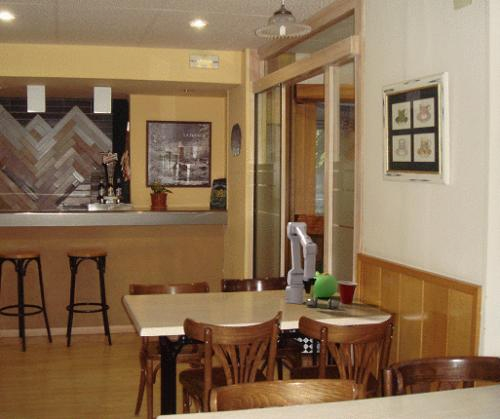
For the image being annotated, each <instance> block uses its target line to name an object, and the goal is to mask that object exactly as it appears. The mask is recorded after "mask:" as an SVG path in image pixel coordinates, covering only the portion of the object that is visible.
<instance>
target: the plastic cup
mask: <svg viewBox="0 0 500 419" xmlns="http://www.w3.org/2000/svg"><path fill="white" fill-rule="evenodd" d="M337 283H338V290H339V297H340V303H341V304H342V305H352V304H353V300H354V297H355V291H356V287H357V286H358V283H357V282H354V281H348V280H338V281H337ZM351 303H352V304H351Z"/></svg>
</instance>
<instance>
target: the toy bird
mask: <svg viewBox="0 0 500 419" xmlns="http://www.w3.org/2000/svg"><path fill="white" fill-rule="evenodd" d="M315 276H317V277H314V278H316V279H317V280H316V282H315V284H314V288H313V297H314V296H315V298H320V299H326V298H330V297H332V296H334V295H335V294H336V293H337V292H338V290H339V284H338V281H337V279H336V277H335V276H333V275H332V274H330V273H329V272H322V273H320V272H319V271H316V270H315Z"/></svg>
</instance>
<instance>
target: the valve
mask: <svg viewBox="0 0 500 419" xmlns="http://www.w3.org/2000/svg"><path fill="white" fill-rule="evenodd" d="M313 287H314V285H312V286H311V291H310V294H306V293H305V292H304V297H305V298H313V297H314V295H313Z"/></svg>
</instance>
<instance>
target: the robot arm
mask: <svg viewBox="0 0 500 419" xmlns="http://www.w3.org/2000/svg"><path fill="white" fill-rule="evenodd" d="M307 226H308V225H307V223H306V222H304V221H303V222H299V221H298V222H297V221H295V222H290V221H289V222H288V223H287V226H286V233H287V234H286V235H287V238H288V239H289V240H290V250H291V252H290V253H291V269H290V270H288V273H287V278H286V279H287V286H286V287H285V301H284V302H285V303H286V304H297V305H298V304H300V305H302V304H304V303H306V300H304V294H305V293H306V294H310V291H311V286H312V285H314V284H315V282H316V280H317V279H316V278H314V277H317V276H315V275H316V261H317V258H316V256H317V255H318V251H319V250H318V245H317V243H314V242H313V240H312V238H311V236H309V235H308V234H307V230H308V228H307ZM300 244H301V245H300ZM300 246H302V248H303V249H302V251H303V258H304V264H303V266H304V268H302V263H301V262H302V261H301V247H300ZM313 288H314V287H313Z"/></svg>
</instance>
